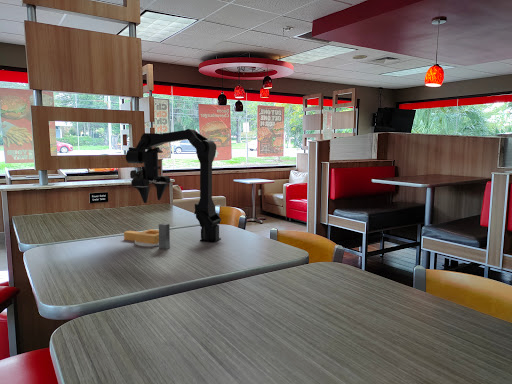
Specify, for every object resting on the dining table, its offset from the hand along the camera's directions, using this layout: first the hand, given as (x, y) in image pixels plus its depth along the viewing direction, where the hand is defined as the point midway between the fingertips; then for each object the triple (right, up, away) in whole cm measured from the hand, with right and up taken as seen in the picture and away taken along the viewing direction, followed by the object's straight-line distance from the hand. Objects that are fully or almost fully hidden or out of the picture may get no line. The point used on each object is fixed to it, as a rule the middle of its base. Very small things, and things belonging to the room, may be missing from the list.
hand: (152, 201), depth 155 cm
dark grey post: (+10, -17, -18) cm, 27 cm away
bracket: (0, -15, -10) cm, 18 cm away
